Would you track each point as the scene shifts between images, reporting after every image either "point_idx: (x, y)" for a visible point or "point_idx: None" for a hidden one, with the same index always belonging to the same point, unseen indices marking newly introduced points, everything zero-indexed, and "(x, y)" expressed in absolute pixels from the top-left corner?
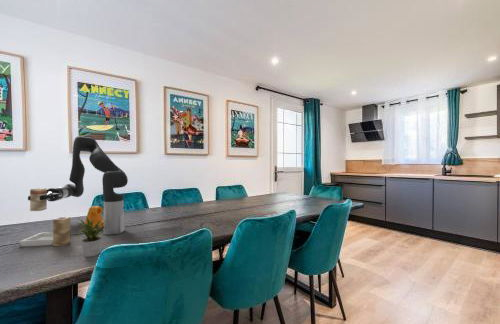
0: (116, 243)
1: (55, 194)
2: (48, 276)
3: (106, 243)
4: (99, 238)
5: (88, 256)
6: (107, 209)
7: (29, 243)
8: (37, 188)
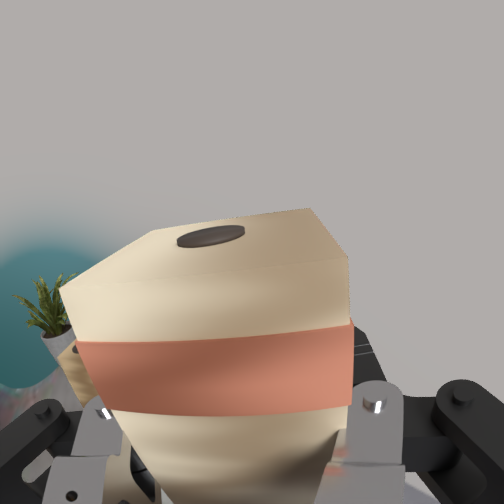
0: (17, 393)
1: (7, 436)
2: None
3: (30, 400)
4: (44, 337)
5: None
6: None
7: None
8: (288, 248)
